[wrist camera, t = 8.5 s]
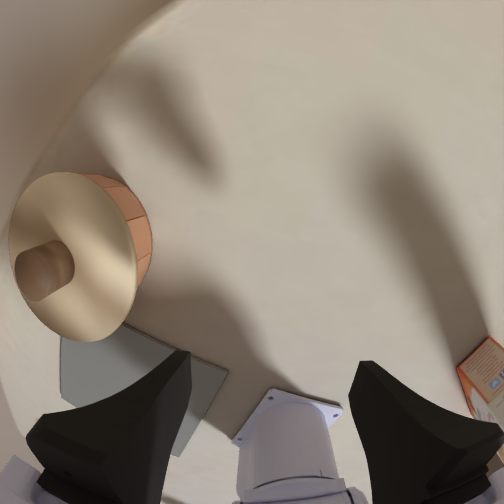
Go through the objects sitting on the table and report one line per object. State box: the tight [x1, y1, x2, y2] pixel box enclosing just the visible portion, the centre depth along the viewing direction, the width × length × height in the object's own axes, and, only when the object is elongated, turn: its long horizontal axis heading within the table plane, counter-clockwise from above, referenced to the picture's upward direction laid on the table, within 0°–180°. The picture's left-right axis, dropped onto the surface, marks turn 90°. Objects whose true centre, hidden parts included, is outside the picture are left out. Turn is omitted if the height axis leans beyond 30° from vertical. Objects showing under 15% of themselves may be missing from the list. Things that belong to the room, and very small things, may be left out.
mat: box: [61, 322, 228, 457], centre depth 23 cm, size 16×16×1 cm
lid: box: [9, 172, 138, 342], centre depth 14 cm, size 12×12×4 cm
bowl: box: [81, 174, 152, 287], centre depth 18 cm, size 10×10×4 cm
